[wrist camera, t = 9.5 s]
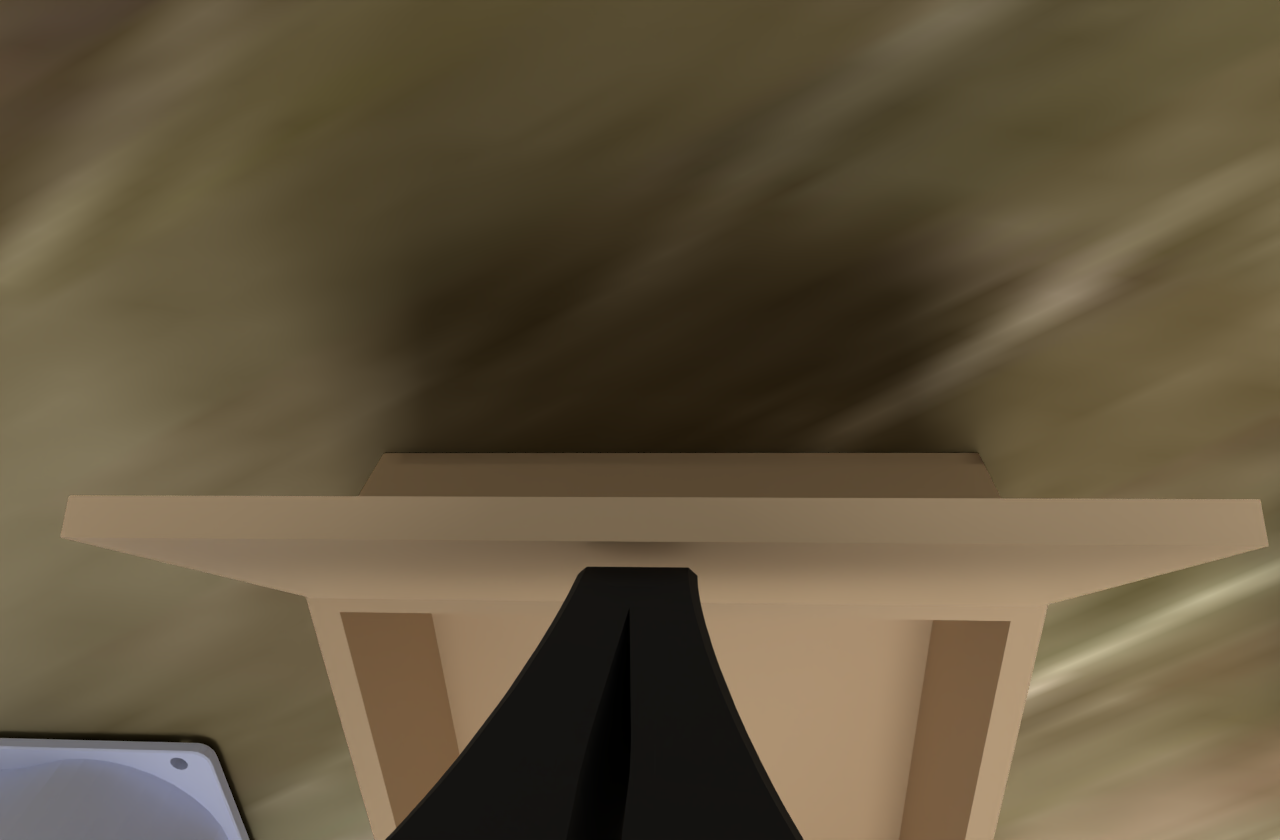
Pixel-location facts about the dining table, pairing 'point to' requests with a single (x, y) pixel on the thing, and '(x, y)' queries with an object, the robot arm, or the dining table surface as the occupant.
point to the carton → (742, 641)
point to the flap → (676, 544)
